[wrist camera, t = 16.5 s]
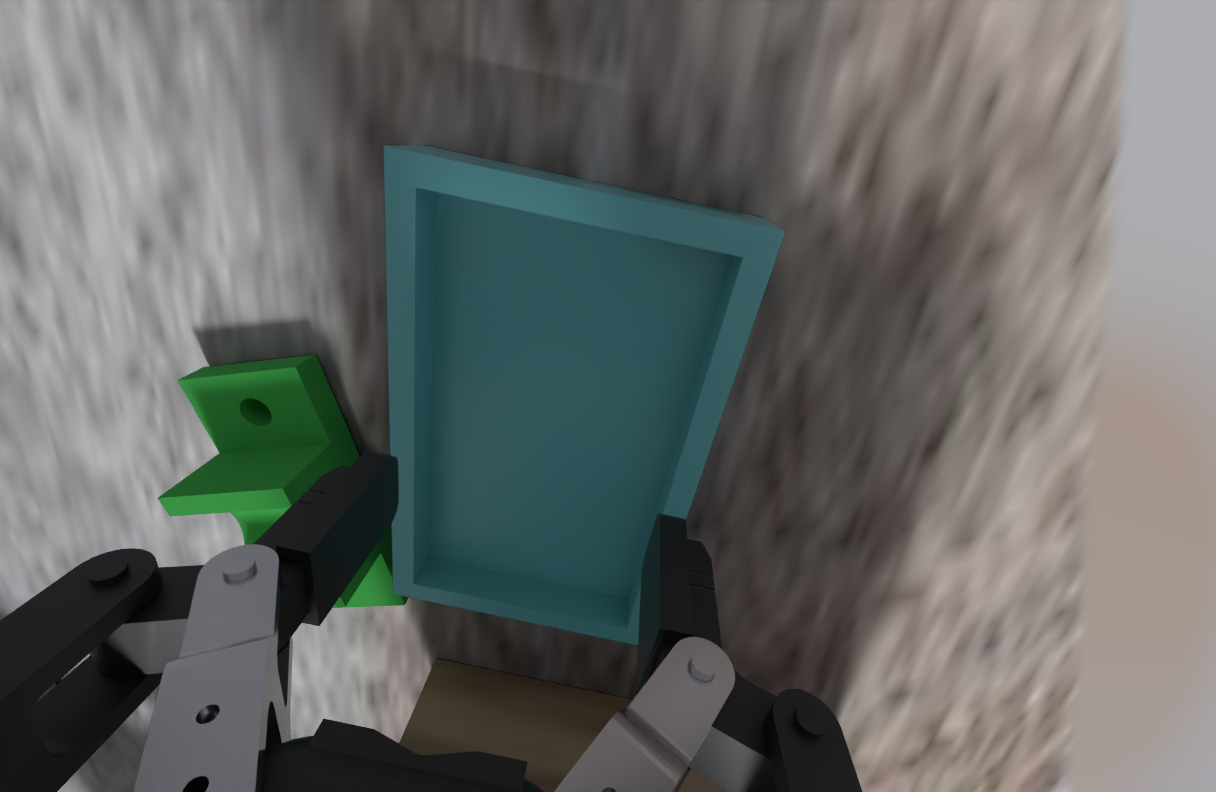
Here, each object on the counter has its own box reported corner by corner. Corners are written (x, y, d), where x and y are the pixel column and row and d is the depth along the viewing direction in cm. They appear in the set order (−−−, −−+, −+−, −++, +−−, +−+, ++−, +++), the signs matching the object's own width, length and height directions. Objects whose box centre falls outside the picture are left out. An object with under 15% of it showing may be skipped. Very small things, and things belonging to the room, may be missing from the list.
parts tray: (421, 145, 14) (383, 145, 12) (768, 218, 14) (785, 231, 12) (417, 552, 22) (393, 593, 20) (644, 600, 22) (642, 646, 20)
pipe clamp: (98, 418, 15) (236, 402, 14) (200, 367, 18) (315, 352, 17) (270, 665, 20) (378, 661, 19) (325, 589, 23) (418, 583, 22)
